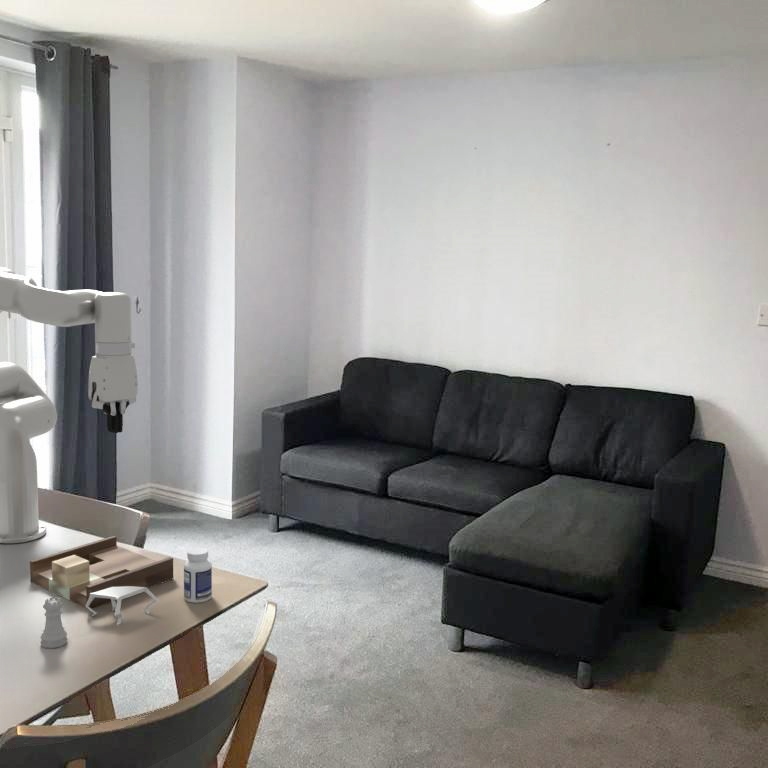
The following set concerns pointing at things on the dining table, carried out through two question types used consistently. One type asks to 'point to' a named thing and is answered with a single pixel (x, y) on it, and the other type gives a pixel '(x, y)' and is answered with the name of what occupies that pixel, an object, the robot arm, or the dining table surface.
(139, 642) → the dining table surface
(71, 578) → the maple block
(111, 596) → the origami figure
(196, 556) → the pill bottle
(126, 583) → the board
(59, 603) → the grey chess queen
